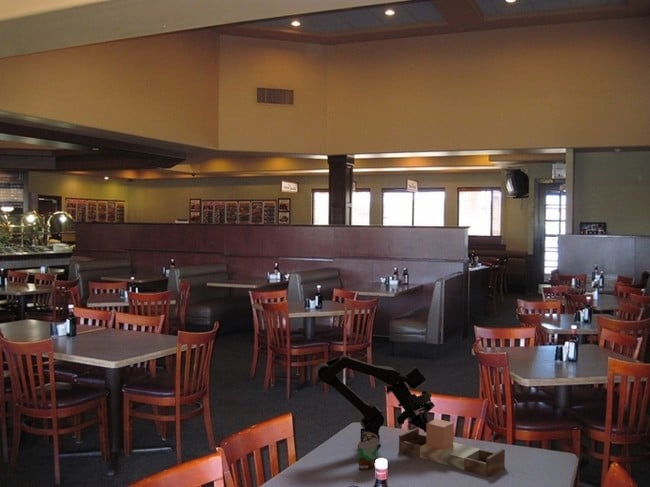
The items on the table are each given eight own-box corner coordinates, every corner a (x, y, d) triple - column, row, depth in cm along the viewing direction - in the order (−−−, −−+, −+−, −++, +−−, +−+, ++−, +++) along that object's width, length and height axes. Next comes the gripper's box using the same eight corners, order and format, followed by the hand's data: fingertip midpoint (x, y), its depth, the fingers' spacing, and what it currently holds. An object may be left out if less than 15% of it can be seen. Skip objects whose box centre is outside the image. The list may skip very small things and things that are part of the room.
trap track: (398, 451, 235) (399, 435, 235) (416, 443, 244) (416, 427, 244) (488, 476, 212) (489, 458, 212) (504, 466, 221) (504, 449, 221)
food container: (376, 473, 214) (377, 443, 213) (358, 471, 215) (358, 442, 215) (380, 460, 226) (381, 432, 226) (363, 459, 227) (363, 431, 227)
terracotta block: (426, 445, 230) (426, 423, 230) (436, 440, 235) (436, 418, 235) (443, 449, 226) (443, 427, 225) (453, 444, 231) (453, 422, 231)
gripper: (403, 389, 229) (430, 425, 222) (430, 379, 244) (456, 414, 237) (385, 406, 234) (410, 443, 228) (412, 396, 249) (437, 431, 242)
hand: (429, 432), depth 233 cm, fingers closed
